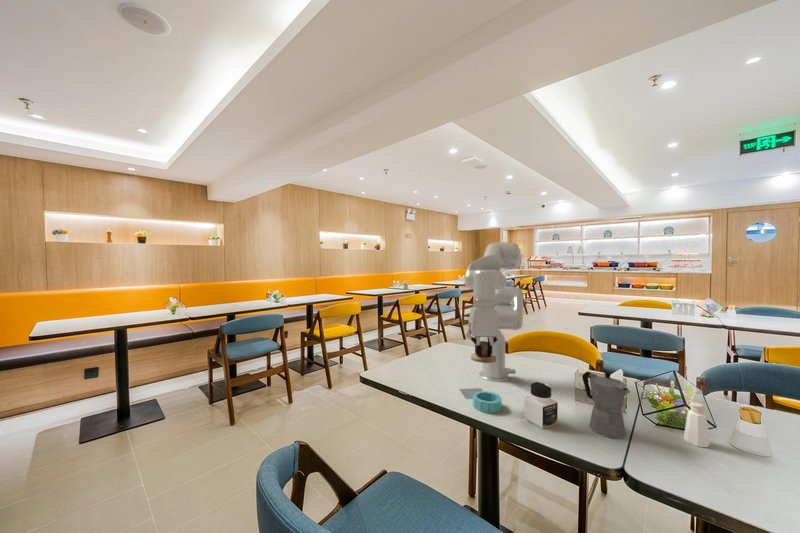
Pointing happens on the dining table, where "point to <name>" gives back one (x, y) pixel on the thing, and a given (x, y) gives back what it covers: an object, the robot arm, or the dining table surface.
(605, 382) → the coffeepot
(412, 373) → the dining table surface
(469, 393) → the mat
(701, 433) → the salt shaker
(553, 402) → the medicine bottle
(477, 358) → the lid
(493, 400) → the bowl
